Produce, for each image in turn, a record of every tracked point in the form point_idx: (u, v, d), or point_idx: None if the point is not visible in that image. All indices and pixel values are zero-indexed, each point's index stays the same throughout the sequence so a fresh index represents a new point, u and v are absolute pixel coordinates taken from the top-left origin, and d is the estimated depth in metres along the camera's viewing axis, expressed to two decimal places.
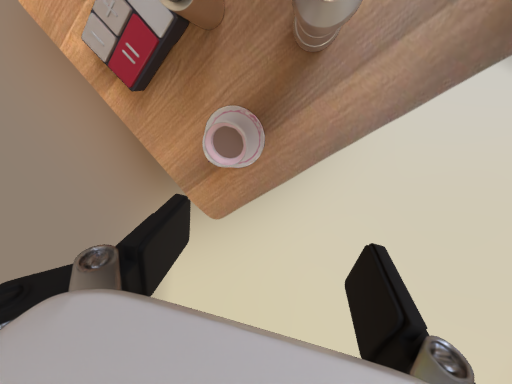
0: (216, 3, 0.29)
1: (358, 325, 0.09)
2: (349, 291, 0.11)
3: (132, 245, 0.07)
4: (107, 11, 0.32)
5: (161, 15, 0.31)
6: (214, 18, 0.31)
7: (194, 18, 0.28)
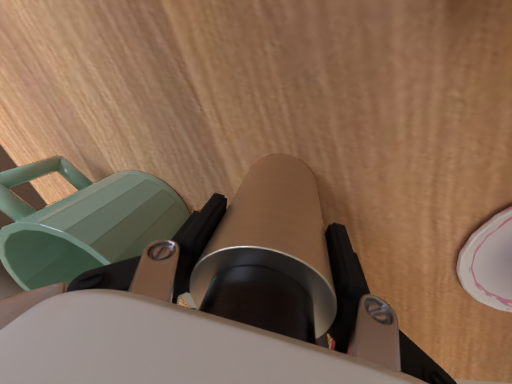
0: (301, 179, 0.12)
1: None
2: None
3: (191, 239, 0.08)
4: None
5: None
6: (316, 192, 0.13)
7: None
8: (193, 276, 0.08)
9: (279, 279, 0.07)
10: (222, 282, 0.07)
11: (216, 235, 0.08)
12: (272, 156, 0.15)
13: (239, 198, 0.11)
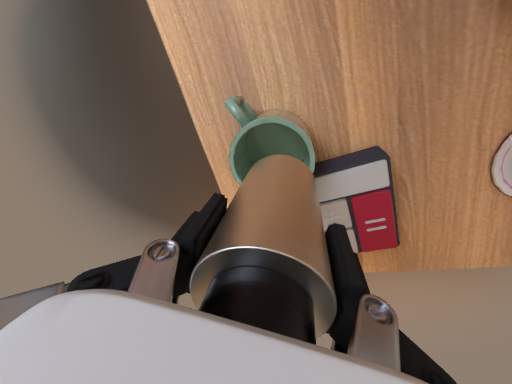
0: (301, 179, 0.12)
1: None
2: None
3: (191, 239, 0.08)
4: (332, 221, 0.30)
5: (375, 172, 0.26)
6: (316, 193, 0.13)
7: None
8: (193, 276, 0.08)
9: (279, 280, 0.07)
10: (222, 283, 0.07)
11: (216, 236, 0.08)
12: (272, 156, 0.15)
13: (239, 198, 0.11)
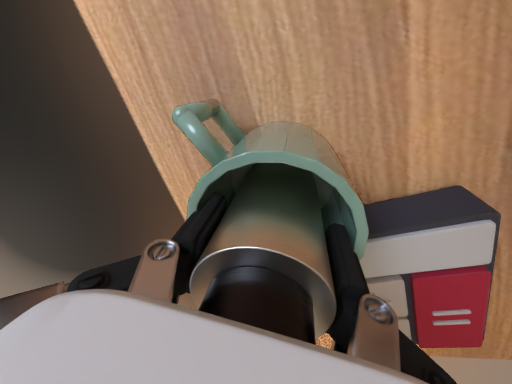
0: (301, 179, 0.12)
1: None
2: None
3: (190, 239, 0.08)
4: None
5: (468, 241, 0.14)
6: (316, 193, 0.14)
7: None
8: (193, 276, 0.08)
9: (279, 280, 0.07)
10: (222, 283, 0.07)
11: (216, 236, 0.08)
12: None
13: (239, 199, 0.11)
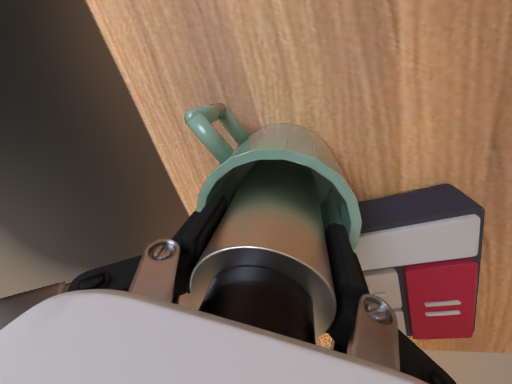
0: (301, 179, 0.12)
1: None
2: None
3: (191, 239, 0.08)
4: None
5: (456, 235, 0.15)
6: (316, 193, 0.14)
7: None
8: (193, 276, 0.08)
9: (279, 279, 0.07)
10: (222, 282, 0.07)
11: (216, 236, 0.08)
12: None
13: (239, 199, 0.11)
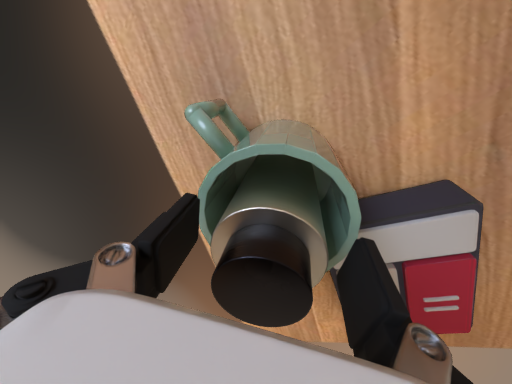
0: (300, 164, 0.14)
1: (347, 316, 0.09)
2: (340, 284, 0.11)
3: (148, 242, 0.07)
4: None
5: (454, 230, 0.15)
6: (314, 177, 0.15)
7: None
8: (214, 235, 0.10)
9: (283, 232, 0.09)
10: (239, 236, 0.09)
11: (232, 204, 0.10)
12: None
13: (248, 179, 0.13)
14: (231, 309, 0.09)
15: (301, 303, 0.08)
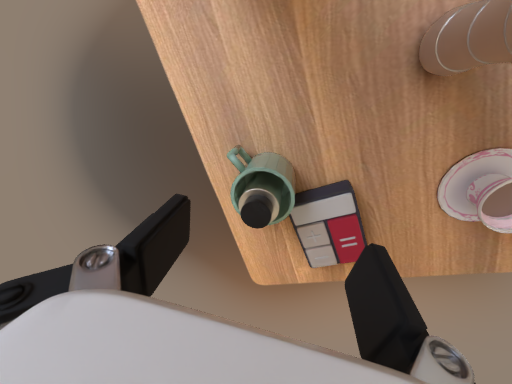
0: (274, 174, 0.33)
1: (358, 325, 0.09)
2: (349, 291, 0.11)
3: (132, 245, 0.07)
4: (313, 239, 0.37)
5: (344, 202, 0.33)
6: (281, 179, 0.34)
7: None
8: (240, 199, 0.28)
9: (263, 196, 0.27)
10: (249, 198, 0.27)
11: (246, 189, 0.29)
12: None
13: (251, 180, 0.31)
14: (246, 222, 0.27)
15: (268, 216, 0.26)
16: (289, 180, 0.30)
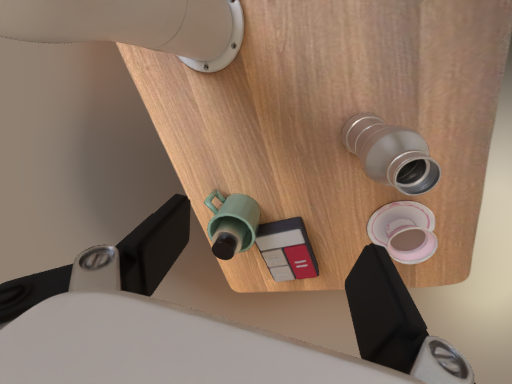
0: None
1: (358, 325, 0.09)
2: (349, 291, 0.11)
3: (132, 245, 0.07)
4: (274, 261, 0.47)
5: (295, 235, 0.43)
6: None
7: None
8: (212, 237, 0.38)
9: (228, 237, 0.37)
10: (218, 238, 0.37)
11: (217, 229, 0.39)
12: None
13: (223, 220, 0.41)
14: (216, 255, 0.37)
15: (231, 252, 0.36)
16: (250, 222, 0.39)
